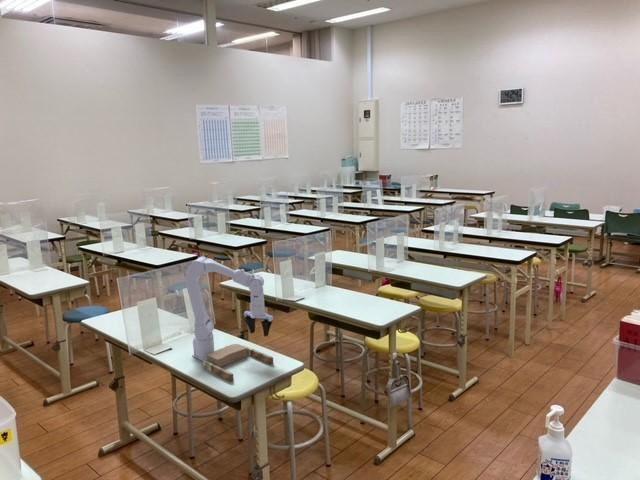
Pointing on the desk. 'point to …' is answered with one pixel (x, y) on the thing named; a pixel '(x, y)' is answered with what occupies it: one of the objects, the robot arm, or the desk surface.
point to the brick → (227, 355)
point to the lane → (229, 375)
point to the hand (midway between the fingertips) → (259, 334)
